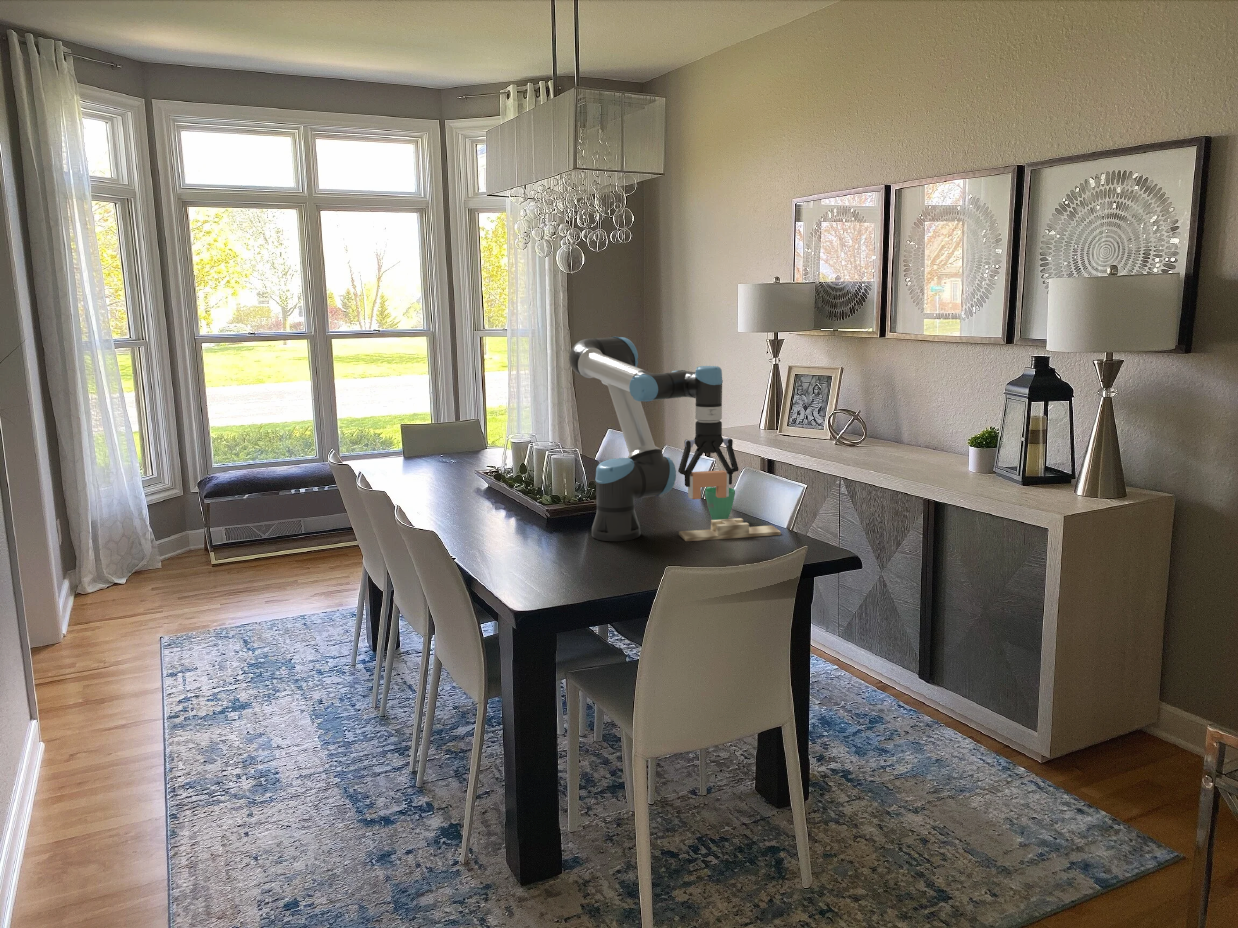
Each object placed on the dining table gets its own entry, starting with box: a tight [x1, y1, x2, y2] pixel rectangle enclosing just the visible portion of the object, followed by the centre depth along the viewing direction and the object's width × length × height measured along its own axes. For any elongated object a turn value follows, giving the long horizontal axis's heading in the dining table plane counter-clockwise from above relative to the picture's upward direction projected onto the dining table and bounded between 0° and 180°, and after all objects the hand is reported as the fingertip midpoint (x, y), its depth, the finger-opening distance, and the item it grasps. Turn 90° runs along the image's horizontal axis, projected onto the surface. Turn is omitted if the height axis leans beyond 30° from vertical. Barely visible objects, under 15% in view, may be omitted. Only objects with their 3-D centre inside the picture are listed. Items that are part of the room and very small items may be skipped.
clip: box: [691, 469, 727, 500], centre depth 267 cm, size 10×3×8 cm, turn 100°
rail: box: [678, 517, 782, 542], centre depth 283 cm, size 30×8×4 cm, turn 100°
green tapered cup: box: [704, 486, 736, 520], centre depth 303 cm, size 15×10×10 cm
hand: (708, 496), depth 268 cm, fingers closed on clip, 10 cm apart
